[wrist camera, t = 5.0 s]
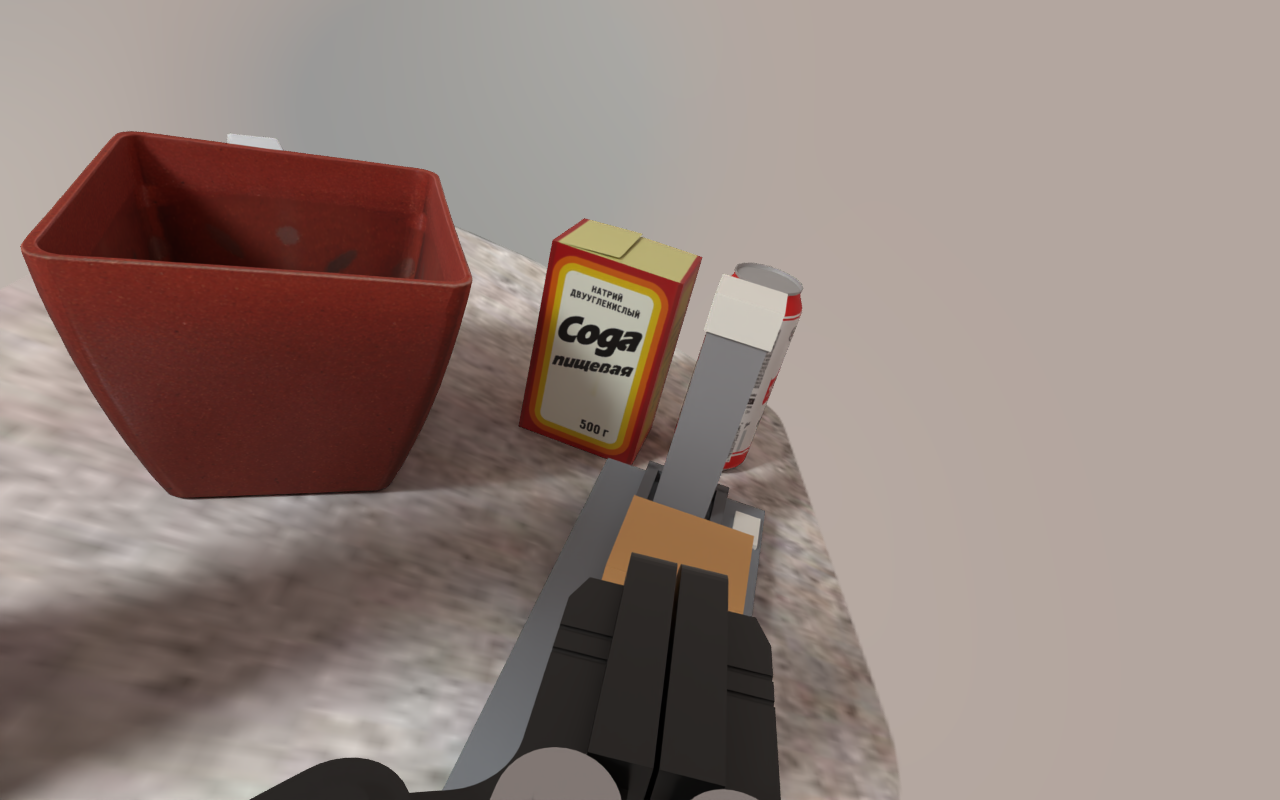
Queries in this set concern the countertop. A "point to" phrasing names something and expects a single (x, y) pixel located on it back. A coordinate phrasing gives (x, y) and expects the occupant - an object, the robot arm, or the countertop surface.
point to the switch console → (575, 564)
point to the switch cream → (719, 391)
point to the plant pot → (254, 309)
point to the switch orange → (682, 546)
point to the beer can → (772, 359)
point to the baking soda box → (605, 338)
